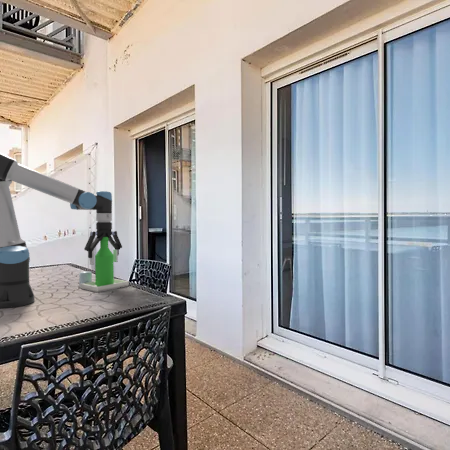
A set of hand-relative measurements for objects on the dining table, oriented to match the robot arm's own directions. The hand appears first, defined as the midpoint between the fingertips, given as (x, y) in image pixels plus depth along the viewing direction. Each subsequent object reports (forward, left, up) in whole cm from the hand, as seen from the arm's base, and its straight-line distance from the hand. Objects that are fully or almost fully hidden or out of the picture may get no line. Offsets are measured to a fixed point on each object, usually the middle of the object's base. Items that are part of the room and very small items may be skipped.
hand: (104, 263), depth 166 cm
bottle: (0, 0, -12) cm, 12 cm away
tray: (0, 0, -12) cm, 12 cm away
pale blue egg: (-3, +12, -12) cm, 17 cm away
